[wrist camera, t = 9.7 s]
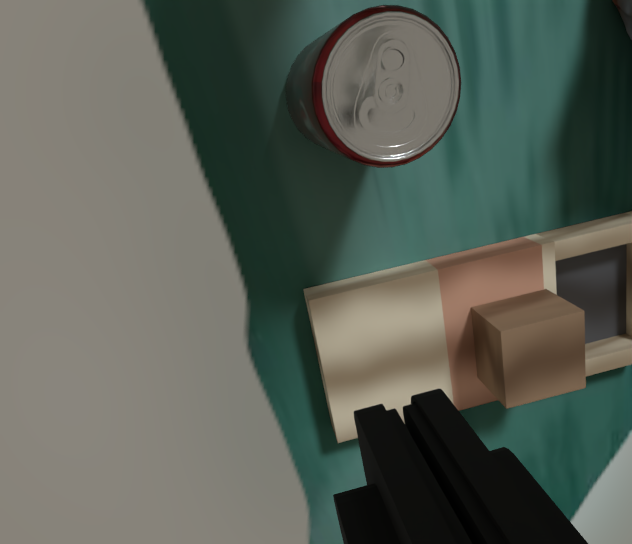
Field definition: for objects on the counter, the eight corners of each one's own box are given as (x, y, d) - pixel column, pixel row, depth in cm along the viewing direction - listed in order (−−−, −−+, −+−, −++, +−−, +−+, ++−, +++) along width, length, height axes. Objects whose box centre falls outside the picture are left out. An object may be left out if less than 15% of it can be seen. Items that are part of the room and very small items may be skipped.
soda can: (383, 153, 38) (453, 174, 26) (280, 144, 36) (307, 163, 25) (397, 41, 36) (479, 13, 24) (288, 28, 34) (322, -9, 23)
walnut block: (470, 307, 40) (500, 331, 35) (546, 288, 40) (584, 310, 36) (477, 377, 42) (506, 408, 37) (549, 359, 42) (585, 387, 38)
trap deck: (303, 289, 40) (308, 300, 37) (635, 210, 42) (659, 216, 40) (331, 424, 44) (338, 443, 41) (634, 344, 46) (656, 357, 44)
